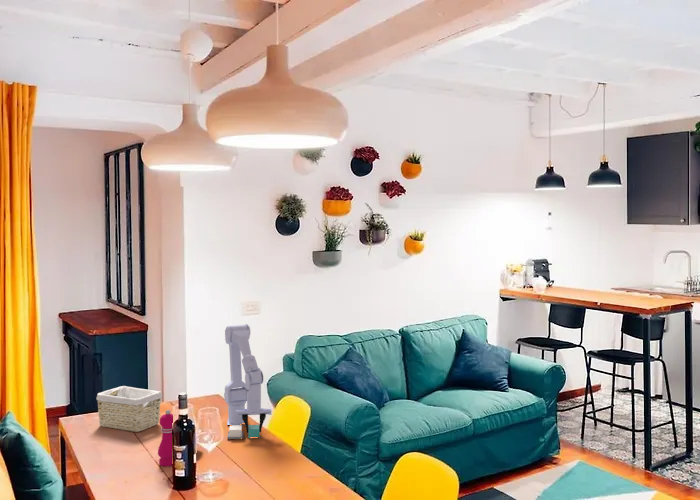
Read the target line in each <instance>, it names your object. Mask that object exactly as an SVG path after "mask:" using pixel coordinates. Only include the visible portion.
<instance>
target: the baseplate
mask: <svg viewBox="0 0 700 500" xmlns="http://www.w3.org/2000/svg"><path fill="white" fill-rule="evenodd" d="M241 438H243V439H244V431H243V430H242V437H229V431H228V432H227V439H241Z"/></svg>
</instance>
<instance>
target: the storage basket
mask: <svg viewBox="0 0 700 500" xmlns="http://www.w3.org/2000/svg"><path fill="white" fill-rule="evenodd" d="M162 394H163V393H162V391H158V390H153V389H145V388H138V387H132V386H126V385H122V386H121V385H120V386H118V387H114V388H111V389H107V390H104V391H101V392H98V393H97V395H96V401H97V409H98V410H97V412H98V418H99V419H98V420H99V421H98V423H99V426H100V427H102V428H108V429H116V430H120V431H128V432H136V433H137V432H140V431H144V430H146V429H149V428H151V427H154V426H156V425H159V424H160V416H161V415H160V414H161V403H162V398H163V395H162Z"/></svg>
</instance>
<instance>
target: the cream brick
mask: <svg viewBox="0 0 700 500" xmlns="http://www.w3.org/2000/svg"><path fill="white" fill-rule="evenodd" d="M242 429H243V425H232V426H229V429H228V432H229V437H242V431H243V430H242Z"/></svg>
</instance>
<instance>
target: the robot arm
mask: <svg viewBox="0 0 700 500" xmlns="http://www.w3.org/2000/svg"><path fill="white" fill-rule="evenodd" d="M224 337H225V338H224V341H225V344H227V345H228V349H229V365H230V366H229V367H230V381H229V382H228V383H227V384H226V385H225V386H224V392H223V393H224V394H223V398H224V401H225V403H226V404H227V405H228V406H227V407H228V409H227V412H228V415H227V417H228V418H227V422H226V425H240V424H242V423H245V425H244V426H245V429H246V430H245V431H246V434H248V425H249V416H254V415H255V416H257V415H259V424H258V425H259V433H262V429H263V428H262V427H263V424H264V422H265V420H266V417H267V415H272V408H262V407H261V406H262V384H264V374H263V371H262V369H261V368H260V367H259V366H258V363H257V360H256V356H255V355H254V354H252V351H251V347H250V337H251V327H250V326H249V324H248V323H246V324H237V325H236V324H235V325H227V326H226V327H225V329H224ZM242 357H243V358H242ZM242 367H243V369H244V373H245V375H244V381H243V376H242V374H243V373H242Z"/></svg>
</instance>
